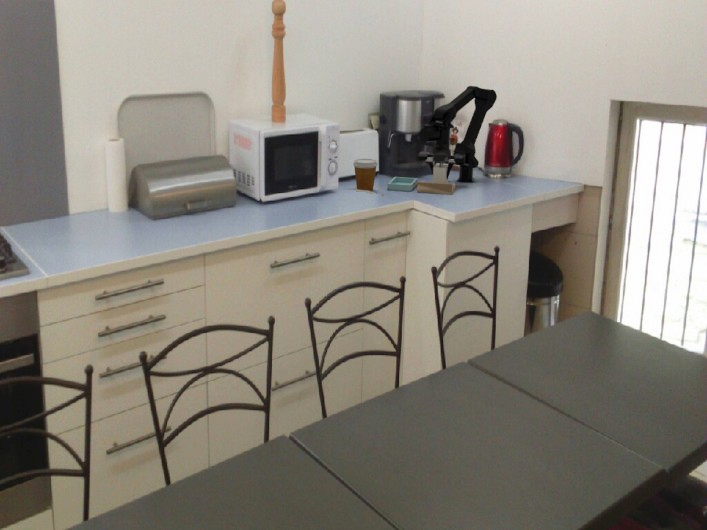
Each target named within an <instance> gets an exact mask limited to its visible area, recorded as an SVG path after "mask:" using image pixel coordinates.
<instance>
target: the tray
mask: <svg viewBox="0 0 707 530" xmlns="http://www.w3.org/2000/svg"><path fill="white" fill-rule="evenodd" d="M418 180H419V179H418V177H406V176H405V177H403V176H402V177H401V176H394V177H393V178H392V179H391V180H390V181H389V182H388V183H387V191H396V192H397V191H399V192H413V190H414V189H415V188H416V187H417V184H418V182H419V181H418Z"/></svg>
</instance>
